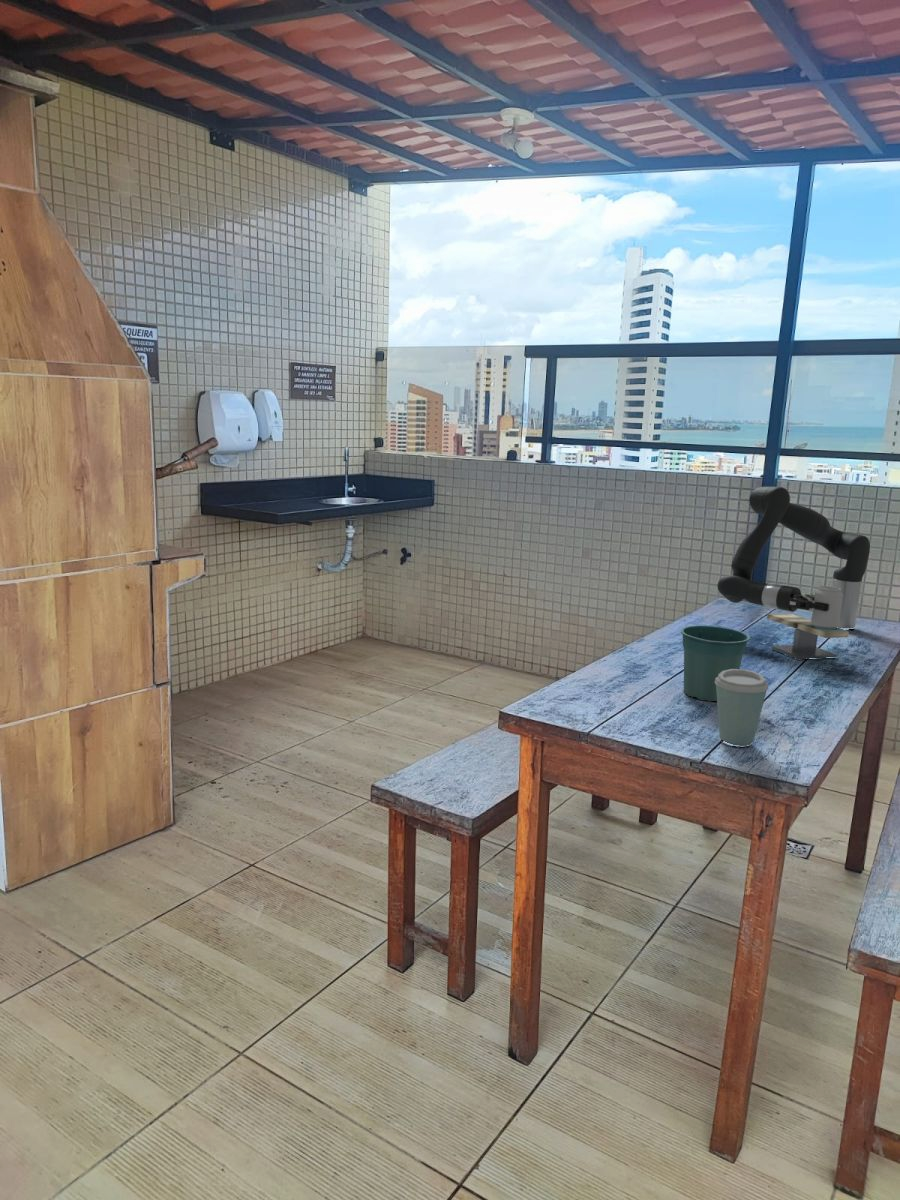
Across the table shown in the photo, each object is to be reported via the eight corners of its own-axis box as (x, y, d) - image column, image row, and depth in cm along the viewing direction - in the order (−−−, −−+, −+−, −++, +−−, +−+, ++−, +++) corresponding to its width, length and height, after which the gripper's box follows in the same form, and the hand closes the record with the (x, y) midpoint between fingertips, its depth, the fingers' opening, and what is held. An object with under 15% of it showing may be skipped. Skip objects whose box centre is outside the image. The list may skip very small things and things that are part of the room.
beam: (764, 618, 266) (765, 613, 266) (789, 618, 269) (790, 612, 268) (823, 638, 242) (824, 631, 241) (850, 637, 244) (851, 631, 244)
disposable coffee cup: (760, 755, 172) (769, 685, 169) (705, 746, 176) (713, 677, 173) (761, 738, 182) (770, 672, 179) (710, 730, 185) (717, 665, 182)
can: (842, 630, 244) (848, 590, 242) (816, 629, 244) (822, 589, 242) (831, 625, 251) (837, 585, 249) (806, 623, 251) (811, 584, 249)
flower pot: (729, 710, 200) (737, 645, 196) (664, 695, 209) (670, 632, 206) (751, 695, 213) (759, 633, 209) (689, 681, 222) (695, 622, 219)
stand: (771, 649, 260) (774, 625, 258) (808, 648, 264) (811, 623, 262) (797, 660, 249) (801, 634, 247) (836, 658, 253) (840, 633, 251)
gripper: (770, 587, 251) (825, 595, 239) (793, 583, 261) (847, 591, 249) (768, 611, 253) (821, 621, 241) (791, 607, 262) (843, 616, 250)
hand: (834, 606), depth 245 cm, fingers closed on can, 7 cm apart
